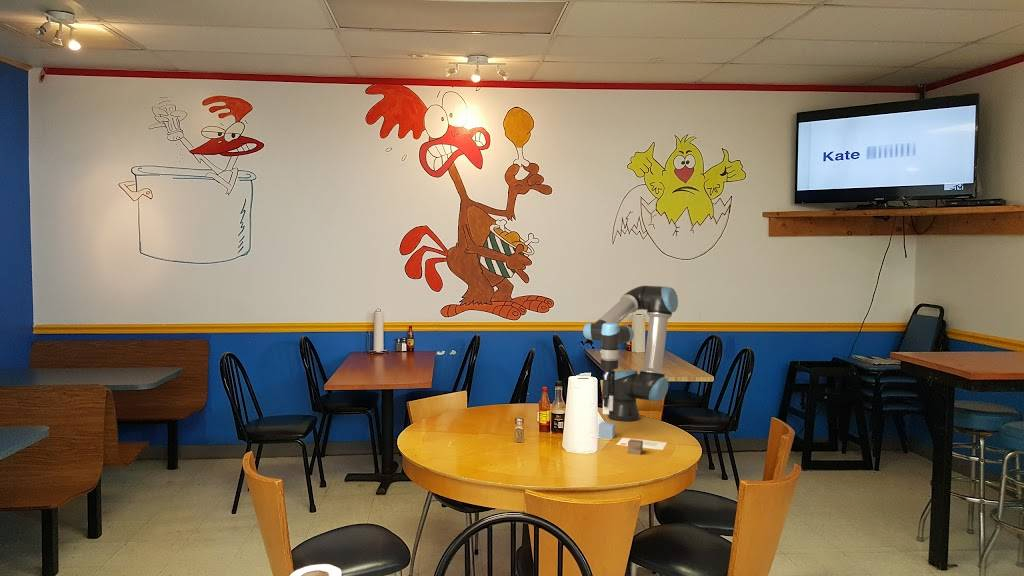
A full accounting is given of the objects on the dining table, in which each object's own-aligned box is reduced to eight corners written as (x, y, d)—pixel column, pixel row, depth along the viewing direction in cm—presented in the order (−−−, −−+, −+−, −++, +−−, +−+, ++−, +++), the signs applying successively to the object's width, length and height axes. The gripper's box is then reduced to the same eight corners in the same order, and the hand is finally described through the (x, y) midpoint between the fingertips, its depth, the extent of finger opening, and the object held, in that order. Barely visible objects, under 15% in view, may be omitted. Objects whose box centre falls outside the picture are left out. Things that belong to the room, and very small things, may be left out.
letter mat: (619, 436, 327) (619, 436, 327) (671, 442, 319) (671, 441, 319) (611, 445, 312) (611, 445, 312) (665, 452, 304) (665, 451, 304)
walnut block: (630, 451, 305) (630, 439, 304) (642, 452, 303) (642, 440, 303) (627, 454, 300) (628, 442, 300) (640, 455, 298) (640, 443, 298)
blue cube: (601, 435, 330) (602, 421, 329) (615, 436, 327) (615, 423, 327) (598, 438, 324) (598, 424, 324) (612, 439, 322) (612, 426, 321)
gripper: (605, 355, 334) (604, 407, 335) (595, 361, 316) (593, 416, 317) (622, 356, 332) (620, 408, 333) (613, 362, 313) (611, 417, 315)
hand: (607, 412), depth 325 cm, fingers open, 7 cm apart
